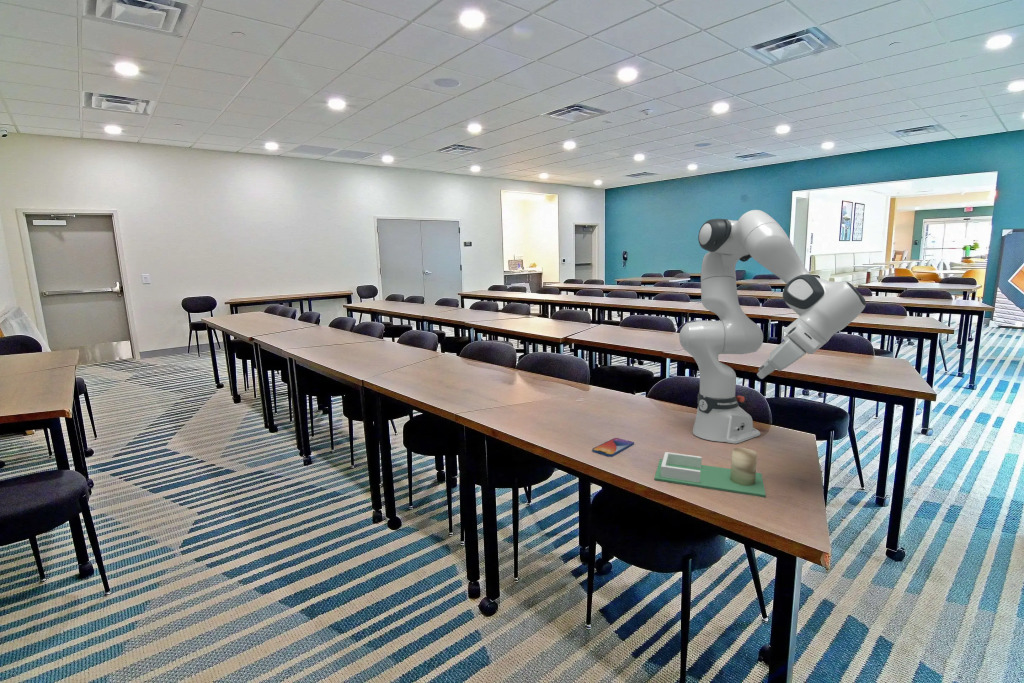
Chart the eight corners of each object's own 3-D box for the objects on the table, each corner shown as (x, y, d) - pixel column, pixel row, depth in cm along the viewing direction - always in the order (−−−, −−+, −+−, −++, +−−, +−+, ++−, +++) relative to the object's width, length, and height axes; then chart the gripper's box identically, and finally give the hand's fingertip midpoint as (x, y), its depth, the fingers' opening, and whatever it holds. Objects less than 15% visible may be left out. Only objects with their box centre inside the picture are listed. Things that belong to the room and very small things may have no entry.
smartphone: (635, 445, 161) (635, 442, 161) (611, 458, 150) (611, 455, 150) (615, 440, 166) (615, 437, 166) (590, 452, 155) (590, 449, 154)
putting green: (761, 475, 136) (762, 462, 136) (765, 497, 124) (766, 483, 123) (659, 460, 147) (660, 449, 146) (654, 480, 134) (654, 467, 133)
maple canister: (741, 474, 136) (743, 446, 134) (760, 483, 130) (762, 454, 129) (725, 478, 134) (727, 449, 132) (743, 487, 128) (745, 458, 127)
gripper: (792, 326, 135) (752, 361, 141) (794, 331, 117) (748, 370, 123) (810, 343, 134) (769, 377, 139) (815, 350, 116) (768, 389, 121)
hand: (759, 374), depth 131 cm, fingers open, 8 cm apart
